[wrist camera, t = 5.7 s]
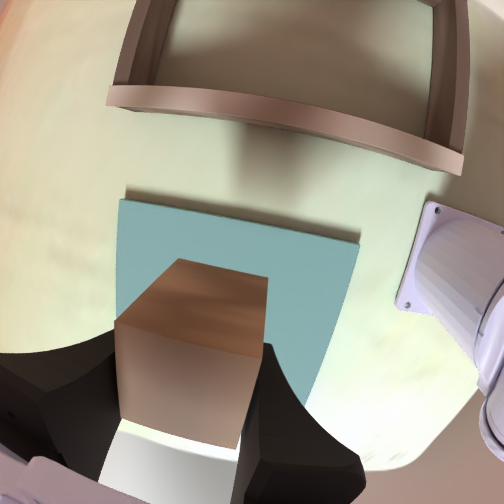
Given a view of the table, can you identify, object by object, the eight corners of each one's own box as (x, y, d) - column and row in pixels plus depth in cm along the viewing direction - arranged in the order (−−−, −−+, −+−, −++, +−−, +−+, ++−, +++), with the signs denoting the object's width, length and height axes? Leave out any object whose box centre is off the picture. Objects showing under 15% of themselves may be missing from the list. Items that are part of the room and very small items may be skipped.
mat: (358, 243, 19) (360, 245, 19) (297, 416, 24) (298, 420, 23) (122, 198, 19) (119, 199, 19) (123, 377, 24) (120, 380, 24)
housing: (444, 3, 13) (466, -16, 9) (431, 171, 17) (460, 175, 14) (181, -49, 13) (167, -75, 10) (134, 113, 18) (105, 105, 14)
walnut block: (268, 277, 13) (262, 359, 7) (250, 353, 14) (236, 449, 8) (178, 257, 13) (114, 320, 7) (170, 334, 14) (120, 417, 8)
